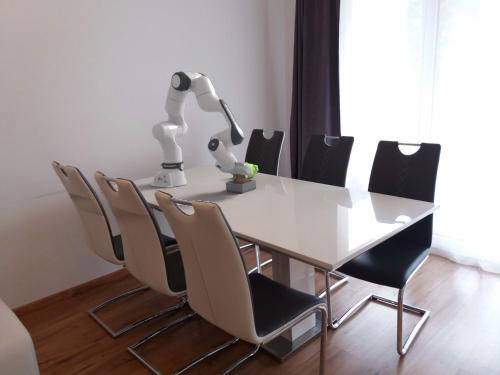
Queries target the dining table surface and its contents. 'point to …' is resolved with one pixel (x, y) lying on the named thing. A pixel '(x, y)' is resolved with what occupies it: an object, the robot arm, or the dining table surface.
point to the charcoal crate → (241, 186)
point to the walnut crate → (239, 179)
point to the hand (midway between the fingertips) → (241, 176)
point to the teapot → (252, 170)
